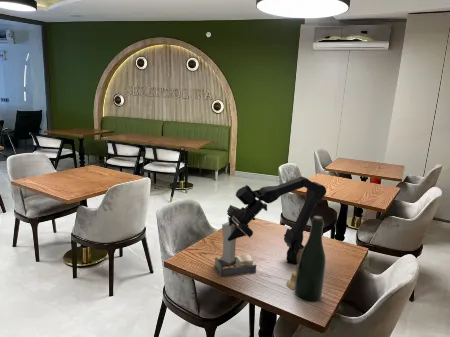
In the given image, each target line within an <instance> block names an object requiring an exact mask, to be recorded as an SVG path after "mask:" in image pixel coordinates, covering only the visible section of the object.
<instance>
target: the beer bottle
mask: <svg viewBox="0 0 450 337" xmlns="http://www.w3.org/2000/svg"><path fill="white" fill-rule="evenodd" d="M324 222H325V221H324V217H323V216H322V215H321V216H320V215H313V218H312V219H311V224H310V226H311V227H310V230H309V231H310V232H309V236H308V238H307V241H306V243H305V244H304V245H303V246H304V248H303V249H302V251H301V254H300V257H299V262H298V268H297V267H296V268H297V275H296V282H295V290H293V291H294V295H295V296H296V297H297V298H298V299H299V300H301V301H304V302H307V303H315V302H318V301H320V300H321V299H322V294H323V289H324V281H325V276H326V275H325V274H326V263H327V260H326V259H327V258H326V253H325V249H324V245H323V230H324V225H325V223H324Z"/></svg>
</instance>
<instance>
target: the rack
mask: <svg viewBox="0 0 450 337" xmlns="http://www.w3.org/2000/svg"><path fill="white" fill-rule="evenodd" d="M233 265H235V266H234V267H225V266H233ZM214 267H215V269H216V271H217V272H218V274H219V276H220V277H228V276H236V275H243V274H250V273H251V274H252V273H256V272H257V265H256V264H253V265H249V266H241V267H236V256H235V261H233V262H231V263H230V264H229V263H227V262H225V261H222V260H221V258H218V257H217V256H216V257H214ZM224 267H225V268H224Z"/></svg>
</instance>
